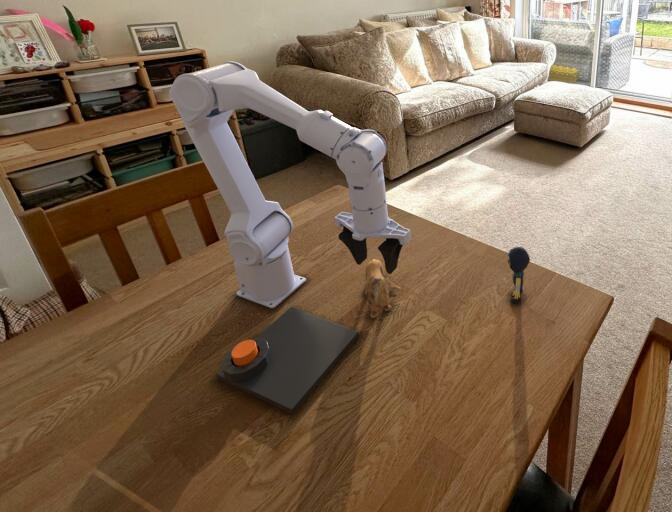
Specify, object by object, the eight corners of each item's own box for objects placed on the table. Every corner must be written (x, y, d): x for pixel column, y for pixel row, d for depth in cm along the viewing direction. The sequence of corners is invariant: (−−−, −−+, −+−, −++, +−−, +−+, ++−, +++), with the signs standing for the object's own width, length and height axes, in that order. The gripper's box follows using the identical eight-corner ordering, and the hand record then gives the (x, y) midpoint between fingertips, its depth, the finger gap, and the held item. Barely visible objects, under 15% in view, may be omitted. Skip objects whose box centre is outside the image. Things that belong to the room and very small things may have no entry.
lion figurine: (405, 320, 73) (401, 281, 69) (375, 333, 70) (370, 293, 67) (381, 271, 84) (376, 236, 81) (354, 281, 81) (349, 244, 78)
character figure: (507, 280, 82) (509, 232, 78) (527, 281, 82) (530, 233, 78) (505, 317, 74) (506, 264, 69) (527, 318, 74) (530, 265, 69)
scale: (216, 379, 62) (212, 365, 60) (292, 311, 74) (289, 298, 73) (292, 415, 57) (288, 401, 56) (359, 336, 69) (357, 323, 68)
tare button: (228, 362, 61) (226, 354, 61) (247, 345, 64) (245, 337, 64) (244, 369, 60) (241, 360, 60) (262, 351, 63) (260, 343, 63)
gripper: (317, 204, 67) (328, 269, 72) (390, 224, 63) (397, 291, 68) (346, 185, 73) (355, 246, 78) (415, 201, 69) (420, 264, 74)
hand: (376, 265), depth 74 cm, fingers open, 6 cm apart
